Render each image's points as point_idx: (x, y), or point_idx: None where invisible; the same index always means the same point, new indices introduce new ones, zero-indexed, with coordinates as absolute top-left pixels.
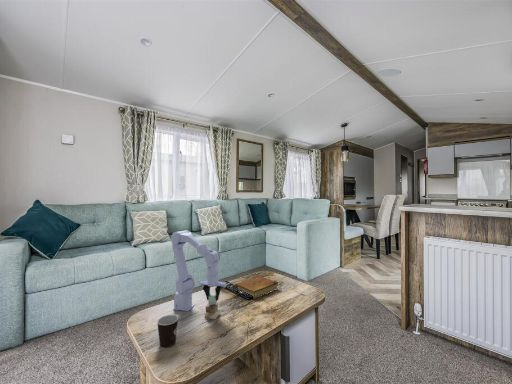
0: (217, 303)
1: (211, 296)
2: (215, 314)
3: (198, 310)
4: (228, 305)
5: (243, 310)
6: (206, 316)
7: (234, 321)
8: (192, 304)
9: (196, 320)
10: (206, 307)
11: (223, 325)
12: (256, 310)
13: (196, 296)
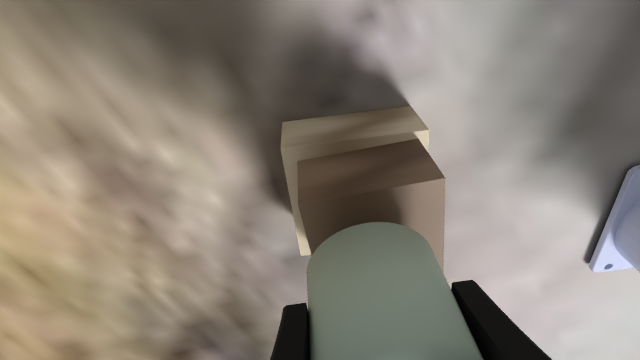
0: None
1: (399, 356)
2: (281, 146)
3: (526, 206)
4: None
5: (129, 312)
6: (393, 115)
7: (52, 141)
8: (612, 262)
9: (487, 19)
10: (429, 175)
11: (97, 18)
12: (32, 339)
13: (597, 355)
